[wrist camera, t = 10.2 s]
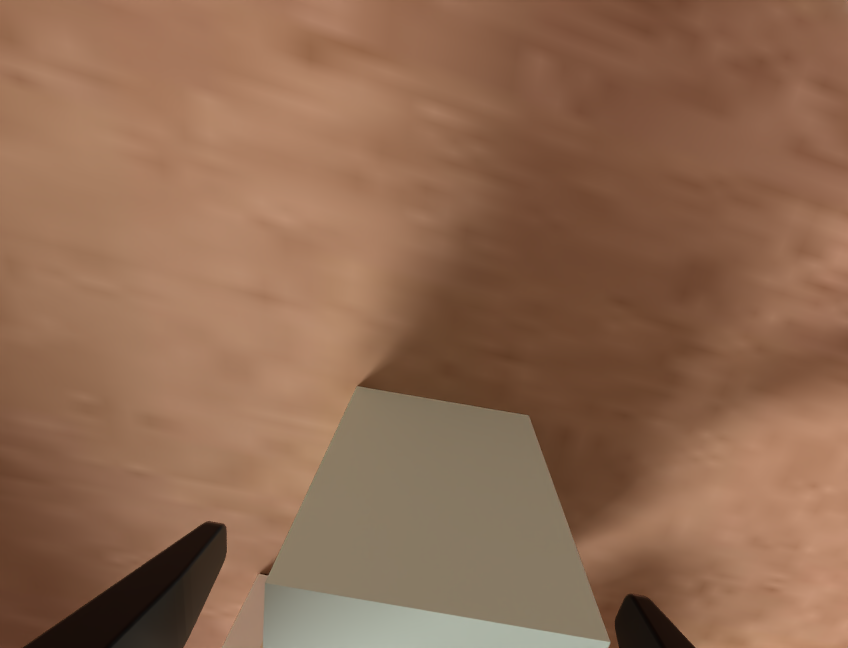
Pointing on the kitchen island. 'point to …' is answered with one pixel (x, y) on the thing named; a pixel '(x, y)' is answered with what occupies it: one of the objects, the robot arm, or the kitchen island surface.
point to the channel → (249, 619)
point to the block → (430, 538)
